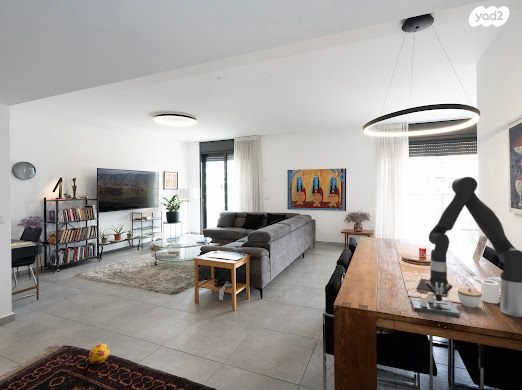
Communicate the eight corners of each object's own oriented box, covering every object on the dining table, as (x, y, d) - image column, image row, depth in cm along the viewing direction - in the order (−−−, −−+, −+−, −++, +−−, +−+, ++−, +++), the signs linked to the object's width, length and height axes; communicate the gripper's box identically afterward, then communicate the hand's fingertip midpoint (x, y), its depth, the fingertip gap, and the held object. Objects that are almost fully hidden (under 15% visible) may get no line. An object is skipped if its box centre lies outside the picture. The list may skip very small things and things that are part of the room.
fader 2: (432, 300, 151) (432, 292, 151) (433, 302, 148) (433, 294, 148) (427, 299, 152) (427, 292, 152) (428, 302, 149) (428, 294, 149)
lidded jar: (471, 301, 156) (471, 284, 156) (487, 309, 145) (487, 291, 145) (452, 301, 156) (452, 285, 155) (467, 310, 145) (467, 292, 145)
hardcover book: (416, 292, 172) (416, 288, 172) (421, 281, 191) (421, 278, 191) (447, 297, 163) (447, 293, 163) (449, 286, 181) (449, 283, 181)
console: (452, 305, 150) (452, 301, 150) (459, 317, 137) (459, 312, 137) (410, 300, 158) (410, 296, 158) (414, 311, 145) (414, 306, 145)
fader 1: (426, 304, 146) (426, 296, 146) (427, 307, 143) (427, 298, 143) (420, 303, 147) (420, 295, 147) (421, 306, 144) (421, 298, 144)
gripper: (451, 268, 150) (451, 299, 150) (423, 266, 154) (423, 296, 155) (455, 272, 143) (455, 305, 143) (425, 269, 148) (425, 301, 148)
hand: (438, 300), depth 149 cm, fingers closed
